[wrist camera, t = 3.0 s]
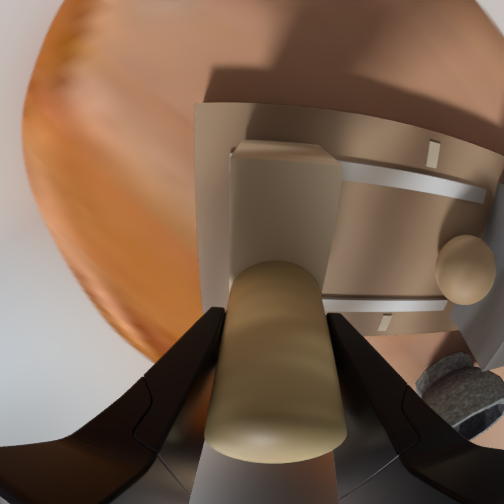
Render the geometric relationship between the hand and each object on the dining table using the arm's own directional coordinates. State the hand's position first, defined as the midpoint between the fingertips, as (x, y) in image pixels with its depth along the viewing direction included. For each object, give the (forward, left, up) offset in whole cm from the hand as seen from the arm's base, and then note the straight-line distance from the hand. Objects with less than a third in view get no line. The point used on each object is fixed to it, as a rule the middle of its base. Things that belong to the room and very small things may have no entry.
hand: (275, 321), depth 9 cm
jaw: (0, 0, -5) cm, 5 cm away
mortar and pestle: (-17, +14, -7) cm, 23 cm away
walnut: (-10, 0, -5) cm, 11 cm away
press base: (-6, 0, -7) cm, 9 cm away
